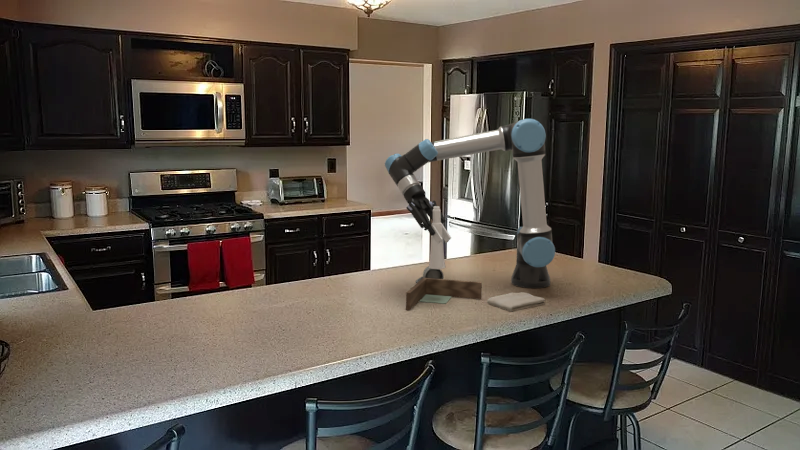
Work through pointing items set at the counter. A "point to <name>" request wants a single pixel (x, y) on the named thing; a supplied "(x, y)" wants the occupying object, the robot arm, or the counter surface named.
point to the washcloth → (515, 301)
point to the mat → (435, 299)
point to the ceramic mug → (431, 274)
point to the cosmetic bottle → (436, 249)
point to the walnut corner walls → (442, 290)
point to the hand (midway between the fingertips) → (444, 240)
